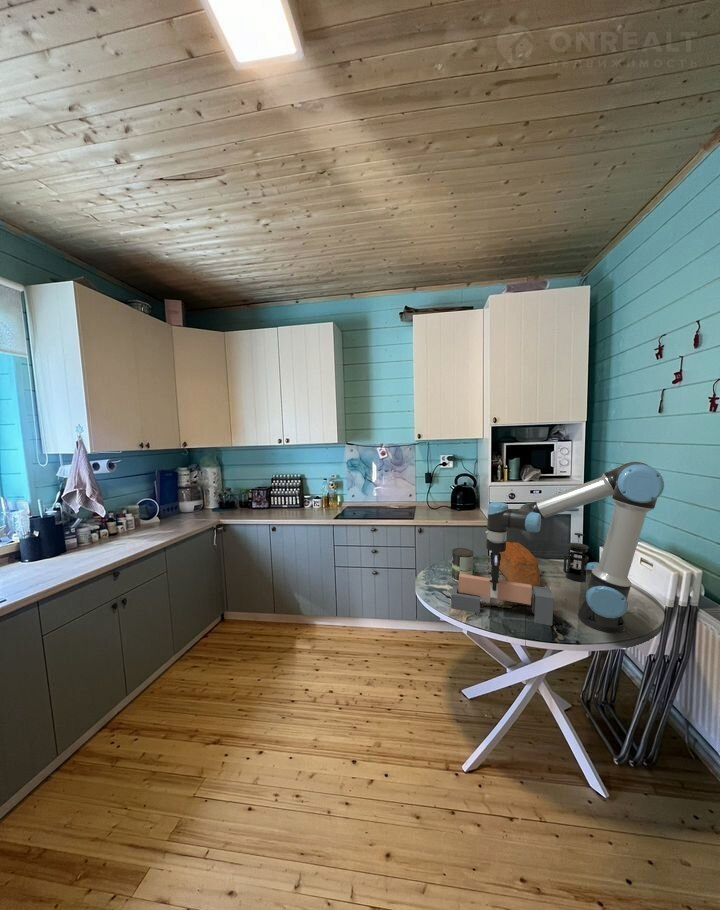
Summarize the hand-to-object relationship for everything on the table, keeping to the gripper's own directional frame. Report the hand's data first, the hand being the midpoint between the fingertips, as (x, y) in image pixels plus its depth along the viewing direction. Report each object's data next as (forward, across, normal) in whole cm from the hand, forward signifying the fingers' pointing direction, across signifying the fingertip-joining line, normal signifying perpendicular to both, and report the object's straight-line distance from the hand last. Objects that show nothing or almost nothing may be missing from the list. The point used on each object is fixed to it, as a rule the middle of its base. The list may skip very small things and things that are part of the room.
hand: (493, 594), depth 146 cm
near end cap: (+6, 0, +18) cm, 19 cm away
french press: (+7, -47, +40) cm, 62 cm away
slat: (+1, 0, 0) cm, 1 cm away
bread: (+7, -39, +12) cm, 42 cm away
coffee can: (+7, -27, -14) cm, 31 cm away
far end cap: (+7, 0, -11) cm, 13 cm away
